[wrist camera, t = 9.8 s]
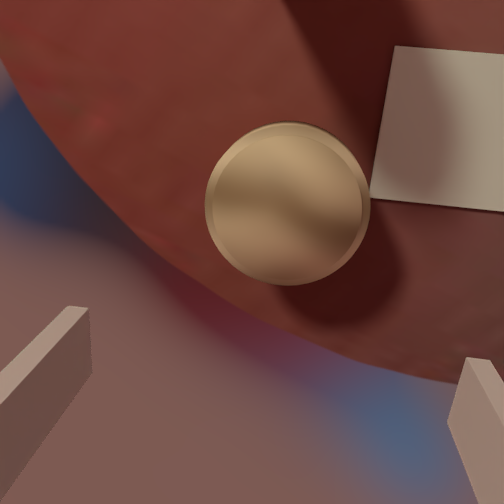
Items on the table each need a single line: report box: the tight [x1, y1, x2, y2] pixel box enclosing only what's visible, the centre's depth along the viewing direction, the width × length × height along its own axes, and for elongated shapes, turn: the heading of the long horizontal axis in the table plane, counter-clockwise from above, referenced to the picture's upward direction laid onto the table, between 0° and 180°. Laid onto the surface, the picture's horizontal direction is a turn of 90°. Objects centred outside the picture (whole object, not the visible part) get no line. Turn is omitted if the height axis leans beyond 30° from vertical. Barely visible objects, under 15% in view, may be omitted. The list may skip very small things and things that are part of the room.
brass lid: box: [205, 121, 371, 286], centre depth 35 cm, size 12×12×4 cm
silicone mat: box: [369, 46, 504, 212], centre depth 38 cm, size 12×12×1 cm
